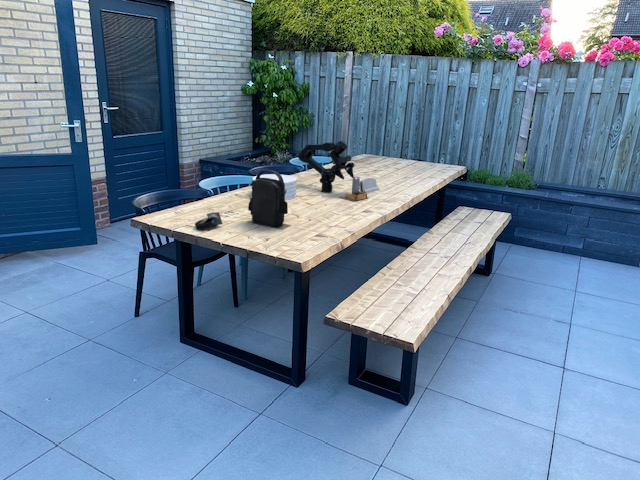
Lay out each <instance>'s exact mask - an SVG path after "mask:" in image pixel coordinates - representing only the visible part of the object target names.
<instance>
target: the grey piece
mask: <svg viewBox="0 0 640 480" xmlns="http://www.w3.org/2000/svg"><path fill="white" fill-rule="evenodd" d="M360 179H361V178H360V176H354V177H353V178H352V181H351V182H352V185H351V194H354V195H359V192H360V187H359V183H360V181H361V180H360Z"/></svg>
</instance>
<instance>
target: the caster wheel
mask: <svg viewBox="0 0 640 480" xmlns="http://www.w3.org/2000/svg"><path fill="white" fill-rule="evenodd" d="M222 221H223V220H222V218H221V215H220V212H219V211H216V212H210V213H206V217H205V218H203V219H200V220H198V221H196V222H195V223H194V226H195V228H196V230H197V231H203V230H214V229H216V228H217V227H218V226H219V225H223V222H222Z"/></svg>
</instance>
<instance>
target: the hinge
mask: <svg viewBox="0 0 640 480" xmlns="http://www.w3.org/2000/svg"><path fill="white" fill-rule="evenodd" d="M379 191H380V187H379V186H378V184H377V181H376V178H374V177H367V178H364V179H361V180H360V183H359V192H363V193H367V194H370V193H373V192H379Z"/></svg>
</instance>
